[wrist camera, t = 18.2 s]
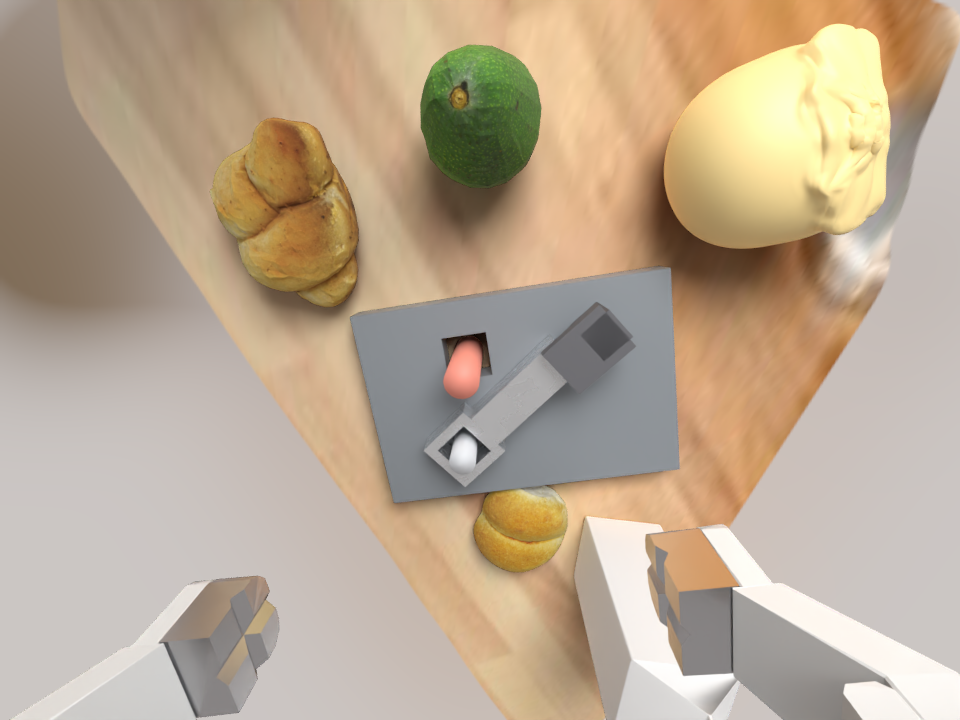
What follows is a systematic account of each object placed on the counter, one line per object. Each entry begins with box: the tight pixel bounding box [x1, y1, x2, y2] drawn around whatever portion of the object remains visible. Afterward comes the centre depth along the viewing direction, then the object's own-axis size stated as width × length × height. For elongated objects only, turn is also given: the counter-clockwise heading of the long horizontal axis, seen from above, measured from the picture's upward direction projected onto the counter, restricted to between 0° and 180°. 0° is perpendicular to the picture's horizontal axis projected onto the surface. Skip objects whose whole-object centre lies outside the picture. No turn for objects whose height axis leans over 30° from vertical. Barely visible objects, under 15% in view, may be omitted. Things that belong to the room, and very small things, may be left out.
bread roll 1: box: [210, 118, 359, 307], centre depth 32 cm, size 13×10×8 cm
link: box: [424, 335, 567, 487], centre depth 35 cm, size 13×5×2 cm, turn 136°
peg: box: [443, 336, 483, 399], centre depth 34 cm, size 2×2×9 cm
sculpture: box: [664, 24, 890, 249], centre depth 28 cm, size 12×12×11 cm
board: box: [350, 266, 680, 503], centre depth 35 cm, size 17×25×7 cm
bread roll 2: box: [474, 485, 568, 572], centre depth 41 cm, size 8×9×4 cm
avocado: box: [421, 45, 541, 188], centre depth 28 cm, size 8×8×12 cm
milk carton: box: [574, 516, 740, 720], centre depth 34 cm, size 7×7×19 cm
